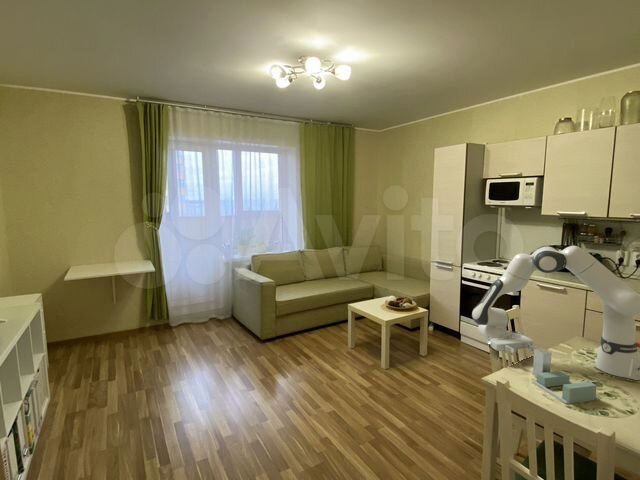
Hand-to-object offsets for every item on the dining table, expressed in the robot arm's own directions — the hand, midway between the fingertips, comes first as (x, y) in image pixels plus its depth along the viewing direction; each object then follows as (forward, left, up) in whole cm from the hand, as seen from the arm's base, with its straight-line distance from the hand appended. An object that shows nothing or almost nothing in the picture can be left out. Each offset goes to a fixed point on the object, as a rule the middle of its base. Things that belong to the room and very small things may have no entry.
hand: (523, 350), depth 160 cm
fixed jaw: (0, +22, -7) cm, 24 cm away
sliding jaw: (0, +17, -7) cm, 18 cm away
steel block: (0, +11, -7) cm, 13 cm away
